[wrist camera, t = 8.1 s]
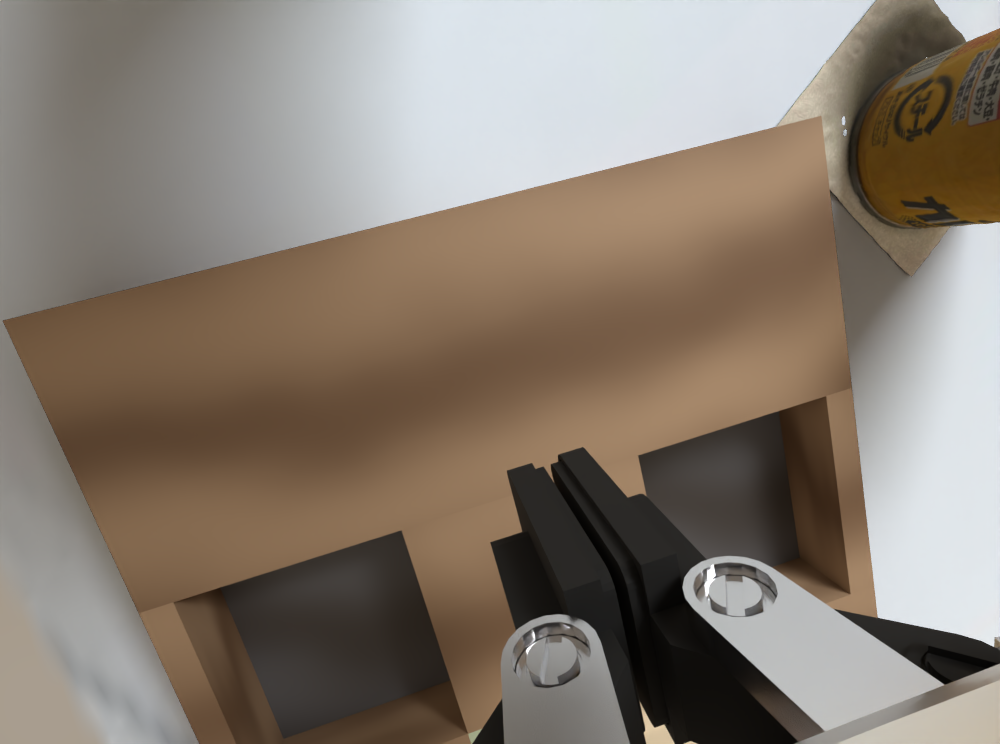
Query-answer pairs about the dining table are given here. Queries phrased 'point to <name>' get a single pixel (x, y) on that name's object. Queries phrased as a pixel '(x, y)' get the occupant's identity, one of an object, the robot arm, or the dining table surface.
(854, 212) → the condiment
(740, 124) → the dining table surface
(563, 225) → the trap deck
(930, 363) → the dining table surface
